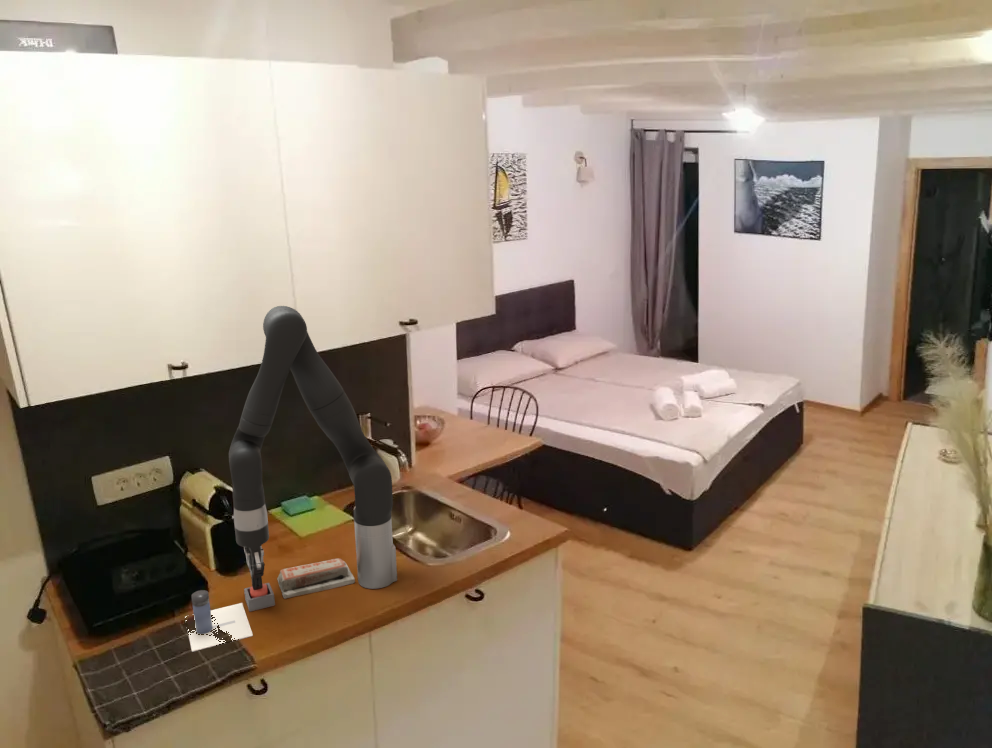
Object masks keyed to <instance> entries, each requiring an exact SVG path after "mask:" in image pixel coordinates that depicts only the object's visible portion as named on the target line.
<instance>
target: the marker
mask: <svg viewBox="0 0 992 748" xmlns="http://www.w3.org/2000/svg"><path fill="white" fill-rule="evenodd" d="M191 603H192V611H193V612H192V613H193V615H194V620H195V628H196V632H197V633H198V634H205V633H208V632H210V631H211V630H212V628H213V627H212V619H211V611H210V610H211V604H210V596H209V591H208V590H205V589H200V590H196V591H195V592H192V594H191Z"/></svg>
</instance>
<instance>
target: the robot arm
mask: <svg viewBox="0 0 992 748" xmlns="http://www.w3.org/2000/svg"><path fill="white" fill-rule="evenodd" d="M262 324H263V325H262V329H263V333H264V335H265V336H264V337H265V340H264V341H265V343H264V348H263V349H264V350H263V355H262V361H261V363H260V367H259V370H258V372H257V376H256V377H255V379H254V381H253V384H252V386H251V388H249V389H250V390H249V392H248V394H247V397H246V400H245V402H244V406H243V410H242V412H241V416H240V419H239V424H238V427H237V428H236V431H235V433H234V435H233V438H232V440H231V443H230V447H229V450H228V463H229V471H230V476H231V483H232V502H233V523H234V531H235V532H234V533H235V541H236V544H237V545H238V547H239V546H240V547H243V550H244V554H245V558H246V564H247V567H248V569H249V571H248V572H249V573H250V577H251V586H252V587H253V590H258V589H262V587H263V586H262V583H263V576H264V574H265V565H266V564H265V562H264V556H265V552H264V548H262V547H263V546H262V545H264V544H266V543H267V542H268V541H269V538H270V531H269V521H268V520H269V519H268V510H267V505H266V500H265V499H266V497H265V489H264V485H263V462H262V454H261V452H262V447H263V443H264V442H265V441H264V440H265V437H266V436H267V435H268V434H269V432H270V430H271V428H272V424H273V422H274V419H275V415H276V413H277V409H278V406H279V402H280V399H281V396H282V393H283V389H284V386H285V384H286V380H287V378H288V376H289V373H290V372H291V373H292V376H293V378H294V382H295V383H296V385H297V388H298V391H299V393H300V395H301V397H302V399H303V401H304V404H305V405H306V407H307V409H308V410H309V412H310V414H311V415H312V417H313V418H314V419H313V420H315V422H316V423H317V426H319V428H320V429H321V430H322V432H323V433H324V434H325V435H326V437H327V438H328V439H329V440H330V441H331V442H332V443H333V444H334V446H335V448H336V449H337V451H338V452H339V455H340V456H341V459H342V461H343V463H344V465H345V468H346V469H347V473H348V475H349V478H350V480H351V482H352V485H353V487H354V488H353V490H354V509H353V523H354V537H355V538H354V540H355V552H356V569H357V583H358V585H360V586H361V587H362V588H365V589H371V590H372V589H373V590H375V589H382V588H385V587H388V586H390V585H391V584H393V582H397V581H398V572H397V571H398V569H397V552H396V551H397V550H396V545H395V544H394V543H393V523H392V510H393V505H394V503H393V501H394V500H393V479H392V473H391V470H390V469H389V468H388V465H387V464H386V462H385V461H384V460H383V458H382V457H381V456H380V455H379V454H378V452H377V451H376V450H375V449H374V447H373V446H372V444H371V443H370V441H369V440H368V438H367V437H366V436H365V434H364V432H363V430H362V427H361V425H360V422H359V421H360V420H359V418H358V416H357V413H356V411H355V409H354V406H353V405H352V402H351V400H350V398H349V397H348V395H347V394H346V392H345V390H344V387H343V386H342V385H341V383H340V382H339V380H338V379H337V378H336V376H335V374H334V373H333V372H332V371H331V369H330V368H329V366H328V365H327V364H326V363H325V360H323V358H322V357H321V355H320V354H319V353H318V351H317V349H316V347H315V345H314V343H313V342H312V339H311V337H310V335H309V332H308V326H307V322H306V321H305V319H304V317H303V316H302V314H301V313H299V311H298V310H296V309H295V308H294V307H291V306H287V305H278V306H277V305H276V306H274V307H272V308H271V309H270V310H269V311H268V312H267V313H266V314H265V316H264V319H263V322H262Z"/></svg>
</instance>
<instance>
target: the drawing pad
mask: <svg viewBox="0 0 992 748" xmlns="http://www.w3.org/2000/svg"><path fill="white" fill-rule="evenodd" d="M210 611H211V615H213V616H212V617H215V618H213V619H212V621H213V622H212V627H213V628H212V630H213V629H215V628H216V629H215V630H217V631H216V632H218V628H217V626H218V625H219V627H220V628H219V629H220V630H222V631H223V632H225V633H226V631H227V633H228V632H229V633H228V634H230V635H232V638H231V640H232V639H233V640H236V641H240V640H243V639H247V638H251V637H253V636H254V635H253V631H252V629H251V626H250V622H249V620H248V617H247V614H246V611H245V608H244V603H243V602H239V603H236V604H232V605H231V604H230V605H228V606H223V607H219V608H215V609H210ZM187 616H188V615H186V616H184V619H185V618H186V617H187ZM212 617H211V618H212ZM215 619H216V620H215ZM214 620H215V621H214ZM186 621H187V620H185V622H186ZM214 623H215V624H214ZM217 623H218V624H217ZM215 630H213V631H215ZM188 631H189V629H188V630H187V633H188ZM192 631H195V630H192ZM192 631H191V632H192ZM213 631H212V632H213ZM212 632H208V633H205V634H204V635H201V634H200V635H198V633H197V634H196V631H195V632H194V633H190V632H189V633H188V634H189V635H188V634H187V635H188V639H189V644H190V649H191V652H192V653H194V652H198V651H200V650H205V649H209V648H212V647H216V645H217V646H220V645H219V644H221V645H223V644H222V643H224V644H226V643H225V642H226V641H225V640H219V638H218V639H217V637H216V638H215V636H213V635H214V634H213V633H212ZM216 632H215V633H216ZM190 634H191V635H190ZM206 634H208V635H206ZM211 634H212V635H211ZM217 634H218V633H217ZM209 635H211V636H209ZM230 635H229V636H230ZM234 638H235V639H234ZM216 639H217V640H216ZM222 639H223V638H222ZM238 639H239V640H238ZM218 640H219V641H221V642H219V641H218ZM233 640H232V642H234V641H233ZM223 641H225V642H223Z"/></svg>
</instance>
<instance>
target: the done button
mask: <svg viewBox="0 0 992 748" xmlns="http://www.w3.org/2000/svg"><path fill="white" fill-rule="evenodd" d="M262 586H263V587H262V589H258V590H253V587H252V585H251V586H250V587H251V588H250V595H251V598H255V597H259V596H264V595H268V590H267V585H266V583H263V582H262Z"/></svg>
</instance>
